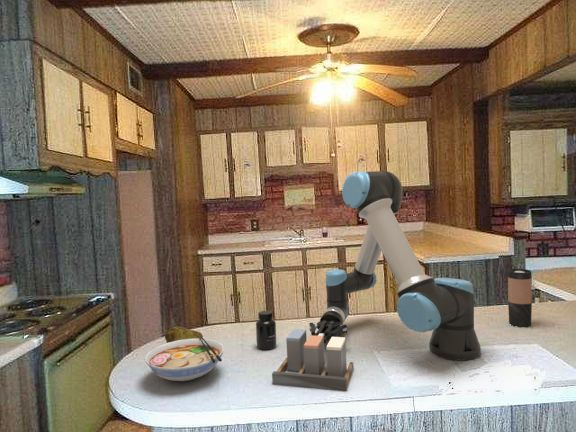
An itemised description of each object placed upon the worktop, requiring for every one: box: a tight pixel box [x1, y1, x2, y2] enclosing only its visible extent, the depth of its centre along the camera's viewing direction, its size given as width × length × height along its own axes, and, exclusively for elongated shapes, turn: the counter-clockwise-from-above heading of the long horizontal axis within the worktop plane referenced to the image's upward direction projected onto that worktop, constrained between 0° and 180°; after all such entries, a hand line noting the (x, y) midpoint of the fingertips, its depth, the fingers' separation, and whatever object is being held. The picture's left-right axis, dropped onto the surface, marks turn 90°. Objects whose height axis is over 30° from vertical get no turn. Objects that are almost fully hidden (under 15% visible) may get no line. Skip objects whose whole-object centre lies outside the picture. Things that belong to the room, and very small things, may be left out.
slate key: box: [285, 328, 308, 372], centre depth 130 cm, size 8×4×10 cm, turn 163°
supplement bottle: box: [255, 310, 277, 351], centre depth 147 cm, size 7×7×12 cm
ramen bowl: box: [143, 334, 225, 382], centre depth 127 cm, size 25×23×8 cm
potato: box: [164, 326, 204, 343], centre depth 149 cm, size 8×13×8 cm, turn 107°
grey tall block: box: [326, 336, 348, 377], centre depth 122 cm, size 8×4×10 cm, turn 163°
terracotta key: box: [304, 335, 326, 375], centre depth 124 cm, size 8×4×10 cm, turn 163°
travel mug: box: [507, 268, 533, 328], centre depth 158 cm, size 8×8×20 cm
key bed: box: [271, 357, 355, 392], centre depth 123 cm, size 14×20×3 cm
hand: (317, 345), depth 128 cm, fingers closed
